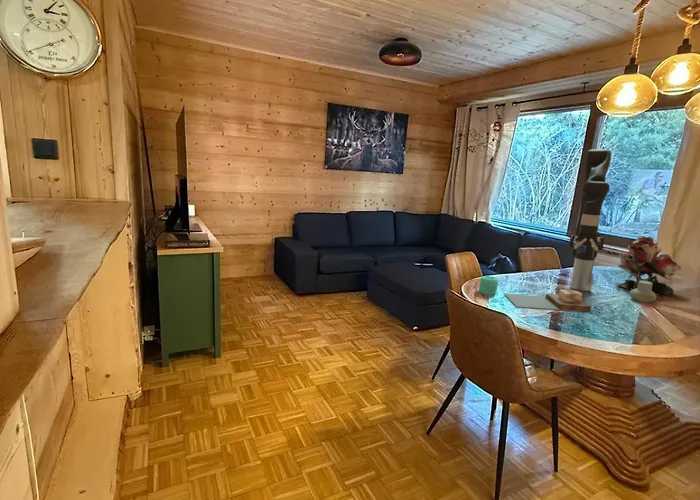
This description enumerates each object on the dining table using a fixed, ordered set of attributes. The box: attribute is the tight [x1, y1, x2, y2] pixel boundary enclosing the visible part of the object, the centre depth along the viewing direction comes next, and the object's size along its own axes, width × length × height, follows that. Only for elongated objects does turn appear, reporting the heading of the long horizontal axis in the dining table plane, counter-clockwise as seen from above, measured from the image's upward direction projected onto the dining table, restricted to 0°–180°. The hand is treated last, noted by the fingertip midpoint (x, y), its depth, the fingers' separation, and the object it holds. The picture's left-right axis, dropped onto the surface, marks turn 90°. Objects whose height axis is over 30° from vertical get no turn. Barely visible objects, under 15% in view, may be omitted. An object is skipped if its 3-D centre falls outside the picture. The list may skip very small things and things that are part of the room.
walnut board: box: [545, 293, 592, 312], centre depth 191 cm, size 14×16×2 cm
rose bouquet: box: [616, 235, 682, 296], centre depth 223 cm, size 26×29×30 cm
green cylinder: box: [478, 275, 499, 296], centre depth 204 cm, size 8×8×8 cm
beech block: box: [558, 289, 584, 302], centre depth 190 cm, size 8×6×4 cm
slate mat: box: [504, 293, 561, 311], centre depth 193 cm, size 20×19×1 cm
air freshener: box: [629, 281, 657, 304], centre depth 202 cm, size 11×8×10 cm
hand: (583, 257), depth 190 cm, fingers open, 8 cm apart
